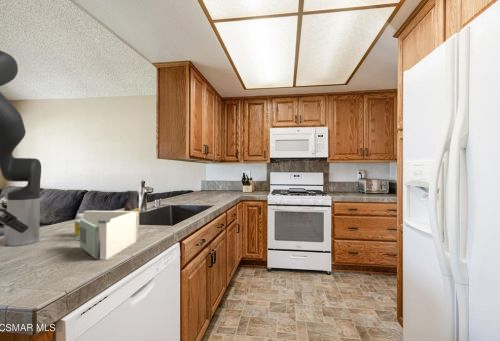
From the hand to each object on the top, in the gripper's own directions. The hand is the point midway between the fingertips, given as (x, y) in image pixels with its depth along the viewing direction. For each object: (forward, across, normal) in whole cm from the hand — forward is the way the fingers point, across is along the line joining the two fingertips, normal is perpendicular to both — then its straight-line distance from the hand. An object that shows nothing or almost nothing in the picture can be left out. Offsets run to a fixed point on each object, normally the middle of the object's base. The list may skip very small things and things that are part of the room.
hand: (24, 229), depth 66 cm
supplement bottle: (+27, +26, -10) cm, 39 cm away
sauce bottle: (+36, +10, -19) cm, 42 cm away
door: (+20, 0, -4) cm, 20 cm away
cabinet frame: (+23, +4, -6) cm, 24 cm away
